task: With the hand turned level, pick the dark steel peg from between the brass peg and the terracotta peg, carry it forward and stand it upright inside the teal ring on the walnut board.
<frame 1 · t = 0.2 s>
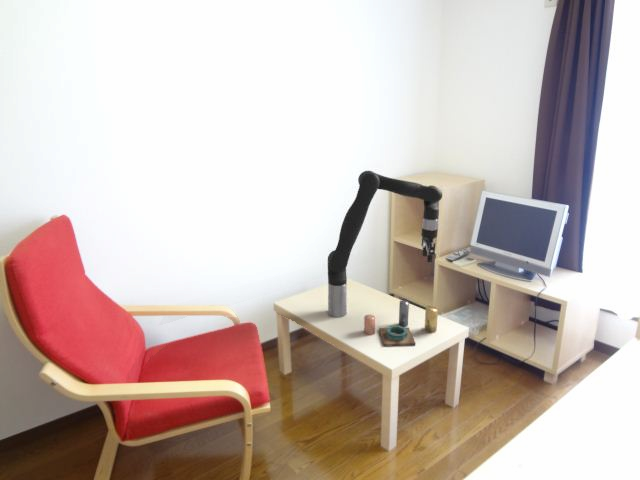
hand: (426, 259, 222), 28 cm above the table, tool pointing down, fingers open, 8 cm apart
brass peg: (430, 329, 213), on the table
ring board: (396, 337, 206), on the table
terracotta peg: (369, 332, 211), on the table
steel peg: (403, 324, 218), on the table
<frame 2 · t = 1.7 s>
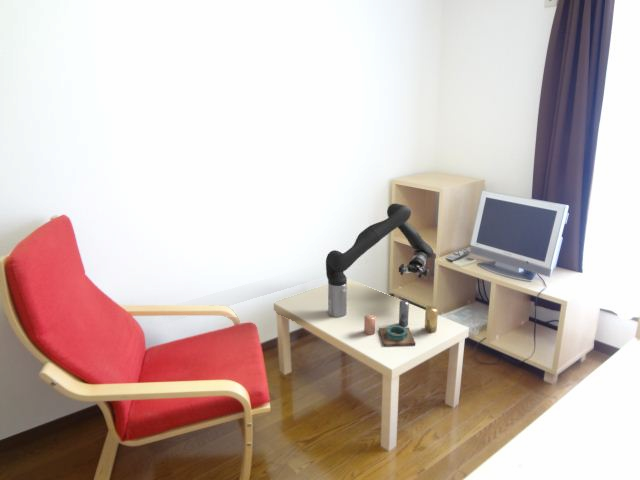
hand: (410, 275, 220), 22 cm above the table, tool horizontal, fingers open, 8 cm apart
nothing on the table moved.
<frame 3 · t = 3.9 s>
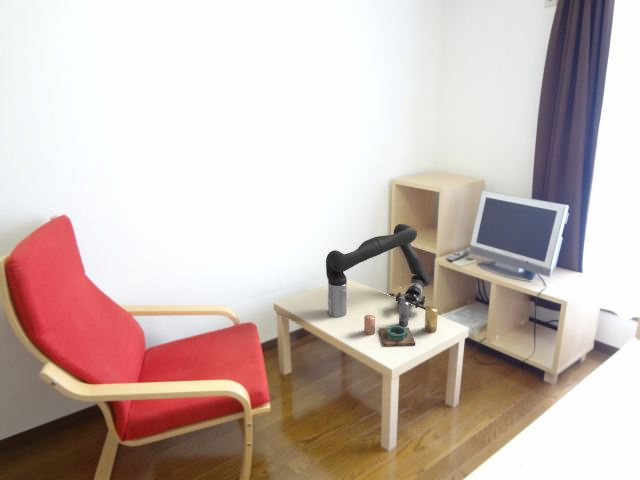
hand: (407, 304, 222), 7 cm above the table, tool horizontal, fingers open, 8 cm apart
nothing on the table moved.
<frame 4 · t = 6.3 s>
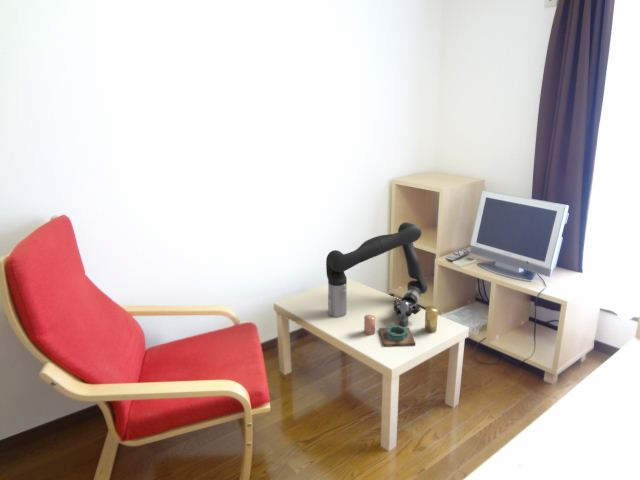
hand: (402, 314, 213), 7 cm above the table, tool horizontal, fingers closed on steel peg, 4 cm apart
steel peg: (403, 324, 218), on the table, touching gripper
everything else where it was.
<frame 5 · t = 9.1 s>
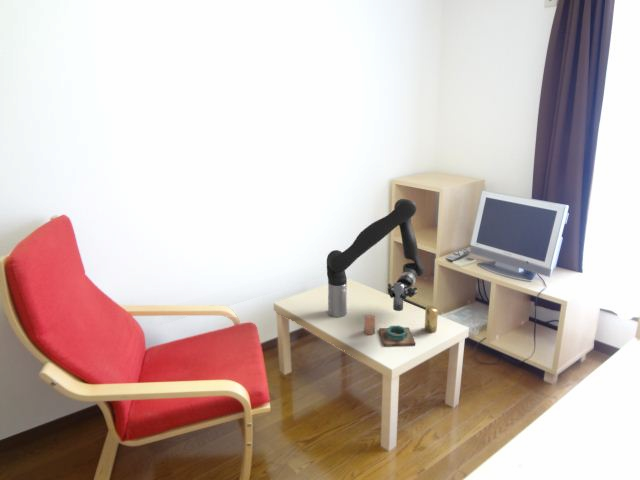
hand: (397, 297, 197), 22 cm above the table, tool horizontal, fingers closed on steel peg, 4 cm apart
steel peg: (398, 308, 202), point 15 cm above the table, touching gripper
everything else where it was.
when the fingers open (9 cm above the table, at t = 11.8 s): steel peg drops 1 cm, resting on ring board.
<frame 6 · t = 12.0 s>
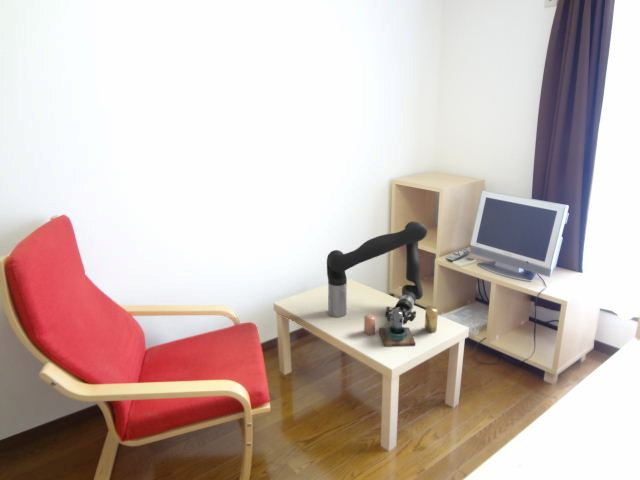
hand: (396, 321, 201), 10 cm above the table, tool horizontal, fingers open, 6 cm apart
steel peg: (396, 335, 206), point 1 cm above the table, touching ring board
everything else where it was.
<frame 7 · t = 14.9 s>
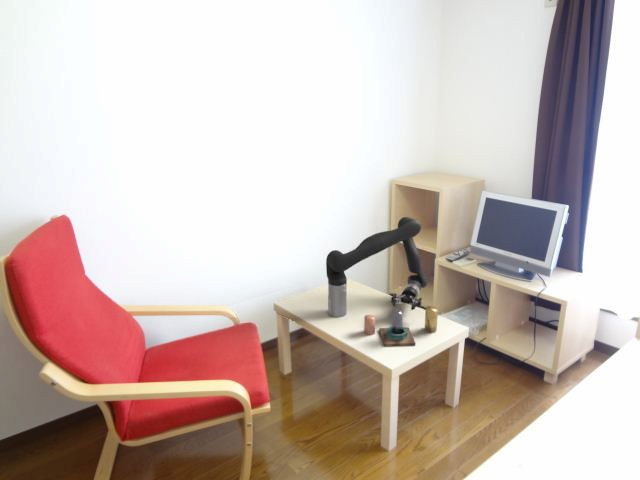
hand: (403, 306, 213), 10 cm above the table, tool horizontal, fingers open, 8 cm apart
nothing on the table moved.
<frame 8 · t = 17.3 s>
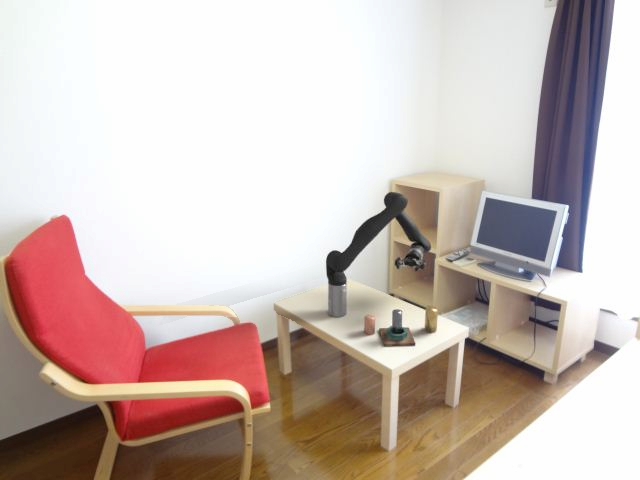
hand: (406, 268, 212), 28 cm above the table, tool horizontal, fingers open, 8 cm apart
nothing on the table moved.
at the end: steel peg 0.1 cm off-centre on the ring board, point 1.2 cm above the ring board's base; steel peg tilted 1°; the gripper is holding nothing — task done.
